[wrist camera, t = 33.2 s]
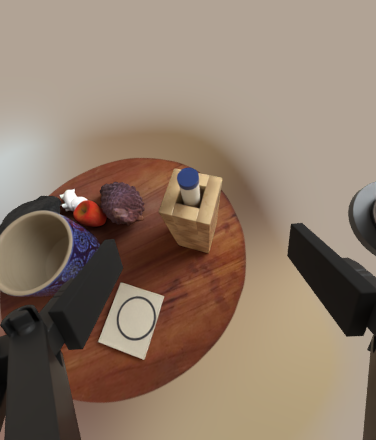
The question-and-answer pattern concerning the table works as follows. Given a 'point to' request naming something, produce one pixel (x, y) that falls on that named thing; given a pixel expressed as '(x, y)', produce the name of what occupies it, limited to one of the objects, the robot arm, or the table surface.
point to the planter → (42, 253)
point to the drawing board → (132, 320)
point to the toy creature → (71, 200)
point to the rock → (32, 209)
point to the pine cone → (121, 203)
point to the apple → (89, 214)
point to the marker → (189, 187)
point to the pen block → (192, 213)
